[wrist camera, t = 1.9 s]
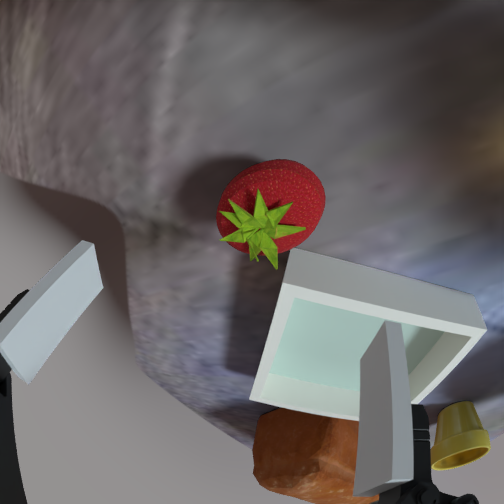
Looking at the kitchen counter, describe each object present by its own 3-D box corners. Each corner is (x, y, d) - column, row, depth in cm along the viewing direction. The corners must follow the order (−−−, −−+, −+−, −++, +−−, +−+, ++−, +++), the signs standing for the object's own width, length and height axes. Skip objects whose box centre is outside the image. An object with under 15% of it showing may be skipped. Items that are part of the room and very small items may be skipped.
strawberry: (341, 187, 23) (345, 261, 15) (265, 228, 27) (233, 307, 19) (300, 124, 21) (280, 162, 13) (223, 173, 25) (168, 235, 17)
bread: (331, 454, 54) (322, 513, 42) (252, 413, 48) (230, 488, 36) (402, 437, 44) (400, 505, 33) (334, 389, 38) (322, 487, 26)
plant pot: (479, 386, 32) (489, 441, 25) (485, 408, 35) (491, 455, 28) (421, 409, 38) (423, 463, 30) (435, 427, 41) (437, 474, 33)
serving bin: (291, 246, 27) (282, 282, 23) (473, 294, 25) (487, 329, 21) (257, 368, 39) (249, 399, 35) (392, 394, 37) (393, 424, 33)
